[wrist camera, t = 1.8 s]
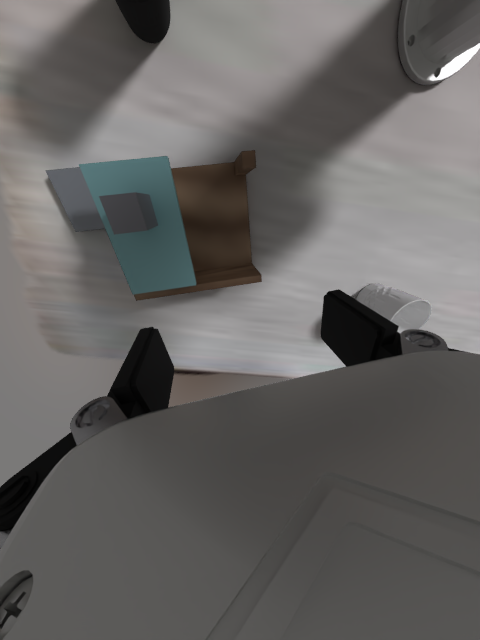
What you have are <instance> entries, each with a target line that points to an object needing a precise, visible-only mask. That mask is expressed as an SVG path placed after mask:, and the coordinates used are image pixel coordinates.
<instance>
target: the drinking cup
mask: <svg viewBox="0 0 480 640" xmlns="http://www.w3.org/2000/svg"><path fill="white" fill-rule="evenodd" d="M115 1H116V3H117V5H118V6H119V8H120V10H121V12H122V14H123V15H124V17H125V19H126V21H127V23H128V24H129V26H130V28H131V29H132V30H133V32H134V33H135V34H136V35H137V36H138V37H139V38H141V39H142V40H144V41H146V42H149V43H156V42H159V41H161V40H162V39H163V38H164V37H165V35H166V33H167V31H168V28H169V24H170V3H169V0H115Z"/></svg>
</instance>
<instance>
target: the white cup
mask: <svg viewBox="0 0 480 640" xmlns="http://www.w3.org/2000/svg"><path fill="white" fill-rule="evenodd" d="M356 300H357V301H359V302H360V303H362V304H364V305H365V306H367V307H368V308H370V309H372V310H373V311H375V312H377V313H378V314H380V315H381V316H383V317H385V318H386V319H388V320H390V321H391V322H393V323H394V324H396V325H398V326H399V327H398V330H397V332H399V333H400V334H401V332H403V331H404V330H408V329H420V328H421V327H423V325H424V324H425V323H426V322H427V321H428V319H429V317H430V315H431V311H432V306H431V304H430V303H429V302H428V301H427V300H424V299H421V298H419V297H416V296H414V295H411V294H408V293H406V292H403V291H400V290H398V289H395V288H392V287H388V286H385V285H382V284H380V283H373V284H370V285H368V286H366V287H364V288H363V289H362V290H361V291H360V292H359V294H358V296H357V298H356Z"/></svg>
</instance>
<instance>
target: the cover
mask: <svg viewBox="0 0 480 640" xmlns="http://www.w3.org/2000/svg"><path fill="white" fill-rule="evenodd" d="M79 166H80V169H81V171H82V174H83V176H84V178H85V181H86V183H87V186H88V188H89V190H90V193H91V195H92V198H93V200H94V202H95V205H96V207H97V210H98V212H99V214H100V217H101V219H102V222H103V224H104V226H105V229H106V231H107V234H108V236H109V239H110V241H111V243H112V246H113V248H114V251H115V253H116V255H117V258H118V260H119V263H120V265H121V267H122V270H123V272H124V275H125V277H126V279H127V282H128V284H129V287H130V289H131V291H132V294H133V295H134V294H140V293H147V292H154V291H160V290H167V289H174V288H181V287H187V286H194V285H196V283H197V282H196V278H195V273H194V269H193V265H192V260H191V256H190V251H189V247H188V242H187V238H186V234H185V229H184V225H183V220H182V216H181V211H180V207H179V202H178V198H177V194H176V189H175V185H174V180H173V176H172V171H171V167H170V162H169V158H168V157H167V156H162V157H152V158H141V159H131V160H120V161H110V162H99V163H89V164H79Z"/></svg>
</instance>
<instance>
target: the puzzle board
mask: <svg viewBox="0 0 480 640" xmlns="http://www.w3.org/2000/svg"><path fill="white" fill-rule="evenodd" d="M254 168H256V158H255V150H252V151H242V152H241V153H240V155H239V156H238V157H237V159H236V160H235V162H231V163H221V164H212V165H202V166H192V167H182V168H172V169H171V171H172V176H173V179H174V183H175V188H176V192H177V197H178V201H179V206H180V210H181V215H182V219H183V223H184V228H185V234H186V238H187V242H188V247H189V251H190V256H191V260H192V265H193V269H194V273H195V278H196V282H197V283H196V285H194V286H187V287H181V288H174V289H167V290H160V291H154V292H147V293H140V294H134V296H135V298H136V301H137V300H144V299H150V298H157V297H164V296H170V295H177V294H183V293H190V292H197V291H203V290H210V289H216V288H223V287H230V286H236V285H243V284H250V283H256V282H262V279H261V274H260V273H259V272H258V270H257V269H256V268H255V266H254V265H253V264H252V259H251V244H250V229H249V215H248V200H247V185H246V174H247V173H249V172H250V171H252V170H253V169H254Z"/></svg>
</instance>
